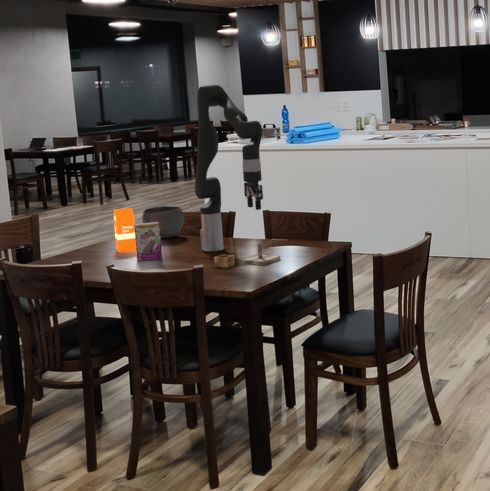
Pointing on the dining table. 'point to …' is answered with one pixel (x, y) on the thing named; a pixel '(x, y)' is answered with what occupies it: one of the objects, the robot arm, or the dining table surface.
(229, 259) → the small wooden box
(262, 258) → the wooden peg stand
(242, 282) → the dining table surface
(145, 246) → the candy bar box
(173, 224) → the bowl
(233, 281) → the dining table surface
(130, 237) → the orange juice
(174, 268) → the dining table surface
